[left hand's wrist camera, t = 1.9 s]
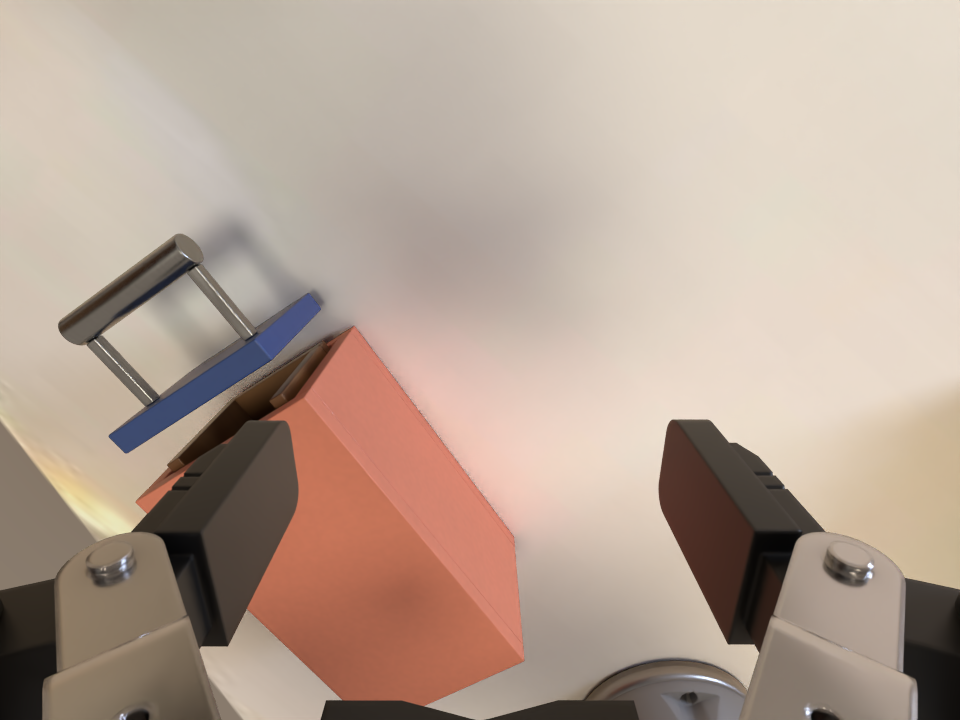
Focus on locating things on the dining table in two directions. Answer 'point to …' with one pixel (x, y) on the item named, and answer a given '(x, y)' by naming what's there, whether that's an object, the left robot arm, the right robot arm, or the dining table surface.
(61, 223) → the dining table surface
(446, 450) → the cabinet
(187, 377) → the drawer
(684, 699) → the right robot arm
